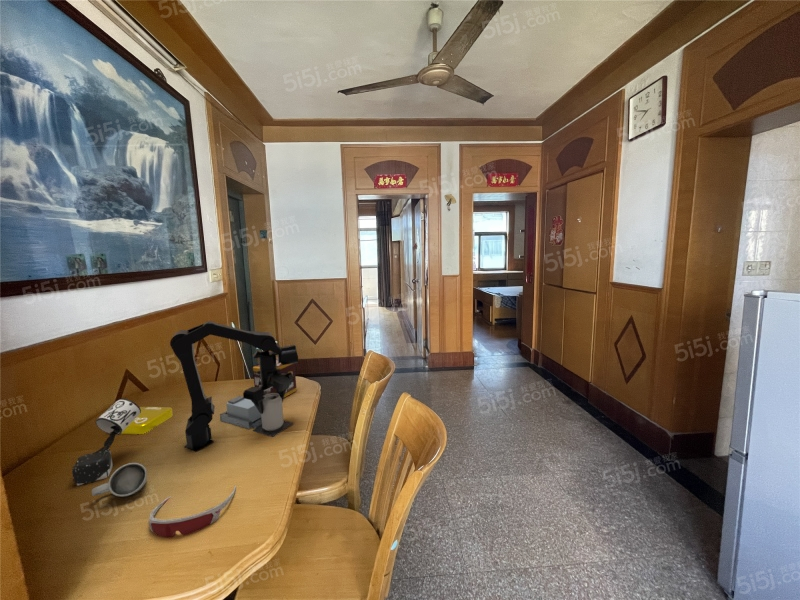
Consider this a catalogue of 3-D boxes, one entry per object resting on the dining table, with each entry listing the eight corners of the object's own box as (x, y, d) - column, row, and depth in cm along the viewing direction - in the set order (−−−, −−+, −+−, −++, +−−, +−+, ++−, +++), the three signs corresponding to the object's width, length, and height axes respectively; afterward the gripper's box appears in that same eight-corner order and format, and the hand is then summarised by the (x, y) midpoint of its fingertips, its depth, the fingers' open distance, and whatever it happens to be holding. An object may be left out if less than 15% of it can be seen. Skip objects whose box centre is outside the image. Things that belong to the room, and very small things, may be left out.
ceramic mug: (141, 496, 90) (152, 465, 94) (139, 496, 84) (151, 463, 88) (92, 496, 85) (105, 463, 89) (86, 496, 79) (101, 461, 83)
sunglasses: (132, 550, 71) (131, 527, 71) (171, 505, 87) (170, 486, 88) (219, 536, 74) (218, 513, 74) (240, 495, 91) (239, 477, 91)
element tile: (175, 416, 133) (174, 405, 132) (144, 437, 118) (142, 425, 117) (141, 416, 134) (140, 405, 133) (106, 436, 119) (104, 424, 119)
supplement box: (255, 400, 145) (252, 367, 143) (280, 387, 159) (277, 356, 157) (272, 404, 141) (269, 369, 139) (297, 390, 155) (294, 359, 153)
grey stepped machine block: (249, 423, 123) (247, 406, 122) (227, 417, 128) (226, 401, 127) (262, 416, 128) (260, 400, 127) (240, 411, 133) (239, 395, 132)
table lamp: (110, 400, 106) (102, 393, 99) (146, 404, 110) (141, 398, 102) (67, 489, 94) (54, 490, 86) (109, 491, 97) (100, 492, 89)
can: (279, 431, 118) (276, 400, 116) (258, 432, 118) (255, 400, 116) (286, 421, 125) (284, 391, 123) (267, 421, 125) (264, 391, 123)
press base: (272, 437, 115) (272, 429, 114) (219, 422, 127) (219, 414, 126) (293, 424, 124) (292, 416, 123) (242, 410, 136) (241, 403, 135)
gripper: (263, 379, 106) (267, 424, 109) (303, 362, 123) (305, 401, 125) (240, 375, 111) (244, 417, 113) (281, 358, 128) (284, 396, 130)
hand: (271, 407), depth 120 cm, fingers open, 9 cm apart
